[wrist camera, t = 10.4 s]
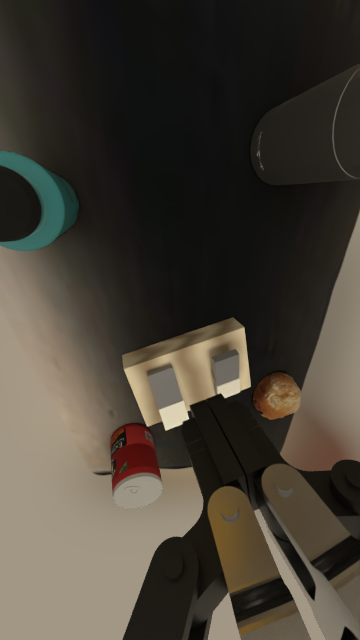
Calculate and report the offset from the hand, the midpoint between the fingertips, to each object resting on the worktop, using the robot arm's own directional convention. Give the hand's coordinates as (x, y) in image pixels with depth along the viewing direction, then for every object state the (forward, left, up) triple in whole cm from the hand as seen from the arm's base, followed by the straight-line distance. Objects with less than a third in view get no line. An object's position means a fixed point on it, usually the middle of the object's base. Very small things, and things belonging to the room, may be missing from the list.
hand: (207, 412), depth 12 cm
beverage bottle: (+7, -10, -29) cm, 32 cm away
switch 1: (+1, +20, -24) cm, 32 cm away
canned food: (+10, +32, -29) cm, 44 cm away
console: (-4, +20, -29) cm, 35 cm away
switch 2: (-9, +20, -24) cm, 33 cm away
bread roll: (-21, +34, -29) cm, 50 cm away
